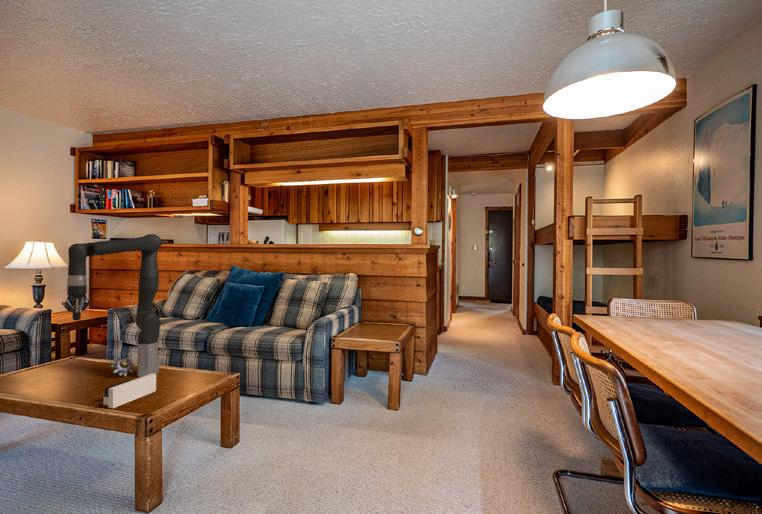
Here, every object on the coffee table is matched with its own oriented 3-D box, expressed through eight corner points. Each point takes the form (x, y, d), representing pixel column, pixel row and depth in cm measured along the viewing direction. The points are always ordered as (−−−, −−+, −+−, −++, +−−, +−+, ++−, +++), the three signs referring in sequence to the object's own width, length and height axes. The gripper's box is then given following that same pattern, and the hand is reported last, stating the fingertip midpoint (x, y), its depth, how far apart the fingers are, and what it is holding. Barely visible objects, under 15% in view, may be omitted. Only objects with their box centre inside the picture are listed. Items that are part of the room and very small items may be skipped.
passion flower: (125, 386, 203) (115, 372, 196) (109, 380, 206) (100, 366, 199) (142, 369, 212) (133, 355, 205) (127, 364, 215) (118, 350, 208)
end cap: (124, 393, 177) (124, 379, 177) (136, 395, 175) (137, 380, 175) (103, 401, 168) (104, 385, 168) (116, 403, 166) (116, 387, 166)
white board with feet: (143, 389, 183) (143, 372, 183) (156, 390, 181) (156, 373, 181) (98, 406, 162) (99, 387, 162) (112, 408, 160) (113, 389, 160)
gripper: (69, 285, 180) (68, 322, 180) (96, 283, 193) (95, 318, 192) (56, 285, 182) (56, 321, 181) (84, 283, 194) (84, 317, 194)
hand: (76, 320), depth 187 cm, fingers closed
